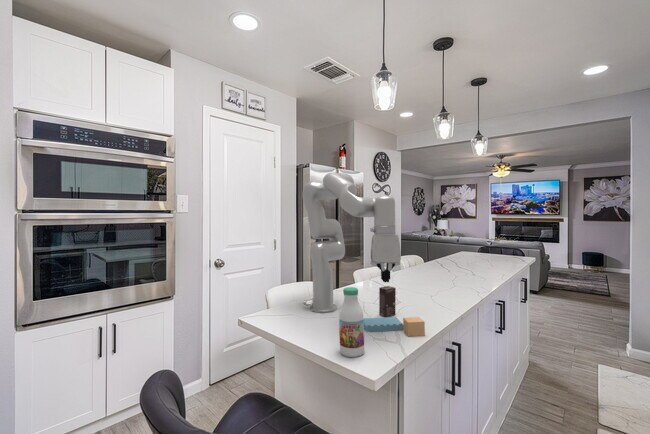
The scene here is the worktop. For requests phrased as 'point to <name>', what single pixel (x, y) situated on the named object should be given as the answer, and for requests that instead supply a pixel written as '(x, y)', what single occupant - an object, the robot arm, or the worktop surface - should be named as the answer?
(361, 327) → the milk bottle
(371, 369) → the worktop surface
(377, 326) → the blue flat block
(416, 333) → the tan block
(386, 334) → the worktop surface
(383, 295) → the box
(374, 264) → the robot arm
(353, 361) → the worktop surface
